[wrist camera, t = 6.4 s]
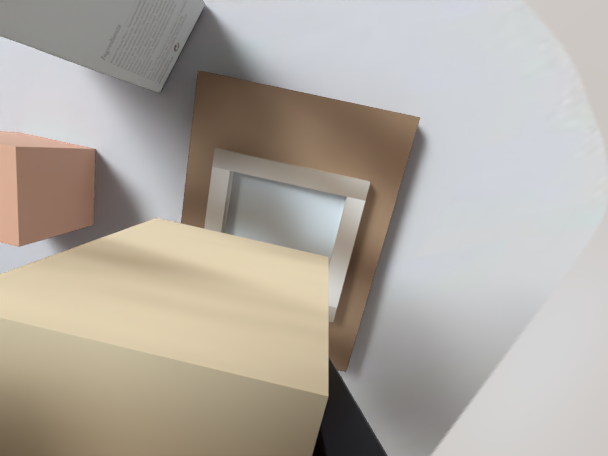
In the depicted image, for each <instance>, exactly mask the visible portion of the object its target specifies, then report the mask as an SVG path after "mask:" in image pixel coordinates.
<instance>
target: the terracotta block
mask: <svg viewBox="0 0 608 456" xmlns="http://www.w3.org/2000/svg"><path fill="white" fill-rule="evenodd" d="M95 151H96V149H93V148H89V147H84V146H80V145H75V144H70V143H66V142H61V141H56V140H52V139H47V138H43V137H38V136H33V135H29V134H24V133H19V132H6V131H0V242H1V243H5V244H9V245H14V246H18V247H20V246H23V245H27V244H30V243H33V242H37V241H40V240H44V239H47V238H51V237H54V236H57V235H61V234H64V233H68V232H71V231H75V230H78V229H81V228H85V227H88V226H92V225H93V220H94V186H95Z"/></svg>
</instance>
